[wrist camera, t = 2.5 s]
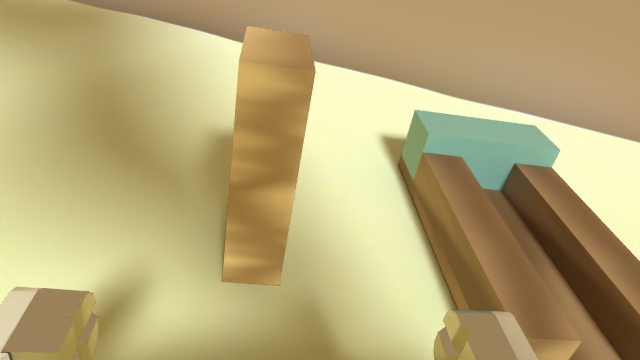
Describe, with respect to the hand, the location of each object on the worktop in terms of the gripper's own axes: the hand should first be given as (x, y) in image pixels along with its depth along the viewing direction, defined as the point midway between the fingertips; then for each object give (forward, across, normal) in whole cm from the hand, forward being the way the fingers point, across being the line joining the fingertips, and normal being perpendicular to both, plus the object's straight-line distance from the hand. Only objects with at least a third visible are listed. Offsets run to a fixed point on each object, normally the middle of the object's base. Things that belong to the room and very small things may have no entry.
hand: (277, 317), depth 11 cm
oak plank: (+13, 0, +10) cm, 16 cm away
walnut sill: (+15, -16, +10) cm, 24 cm away
